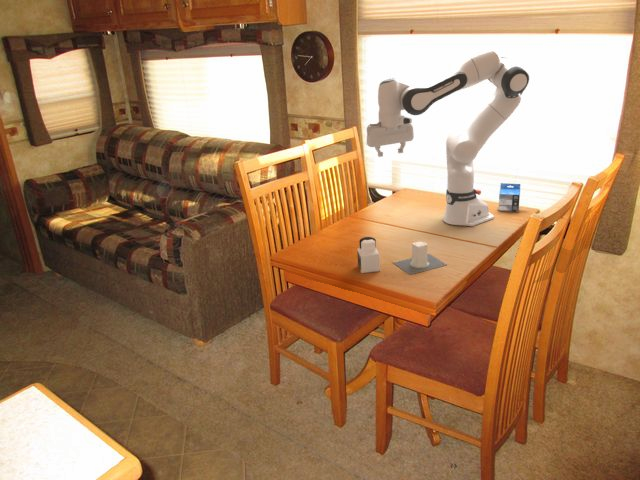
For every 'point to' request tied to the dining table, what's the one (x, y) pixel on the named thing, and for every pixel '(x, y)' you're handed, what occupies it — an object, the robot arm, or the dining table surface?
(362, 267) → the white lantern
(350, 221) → the dining table surface
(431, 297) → the dining table surface
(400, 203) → the dining table surface
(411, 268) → the slate pad
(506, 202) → the label tape cartridge
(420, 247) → the white block
